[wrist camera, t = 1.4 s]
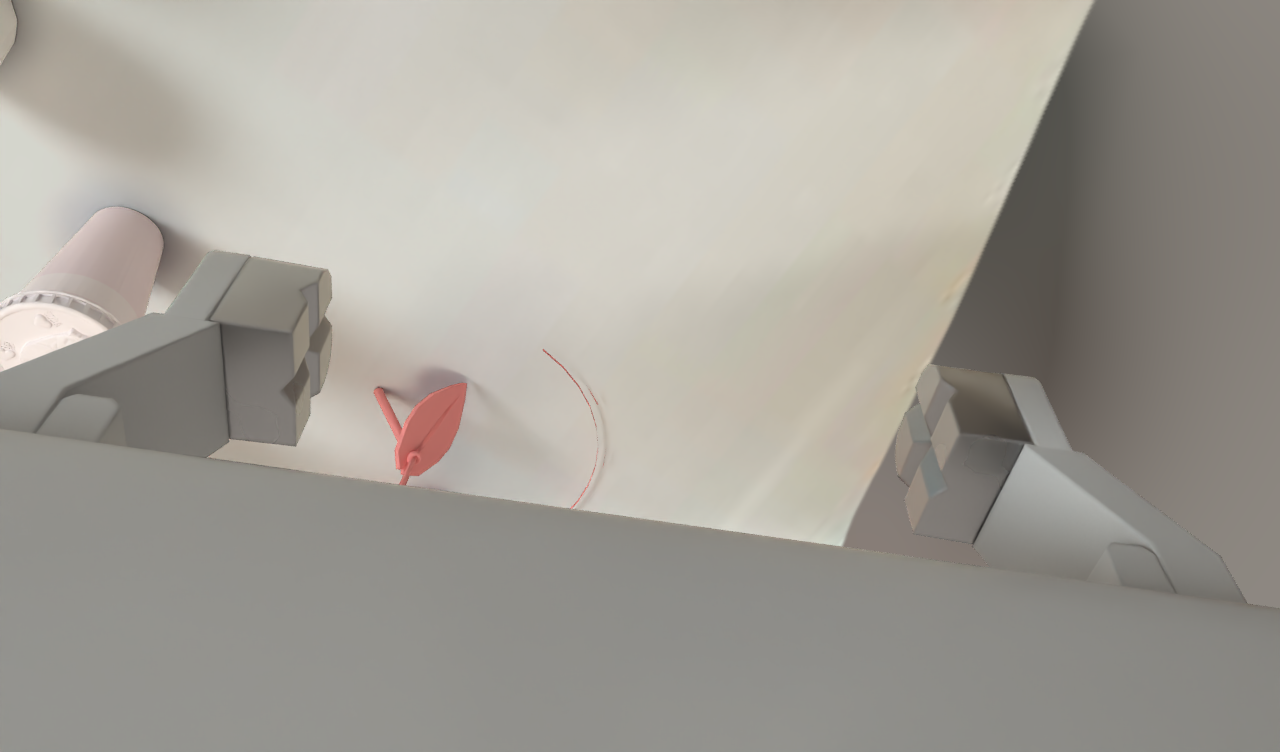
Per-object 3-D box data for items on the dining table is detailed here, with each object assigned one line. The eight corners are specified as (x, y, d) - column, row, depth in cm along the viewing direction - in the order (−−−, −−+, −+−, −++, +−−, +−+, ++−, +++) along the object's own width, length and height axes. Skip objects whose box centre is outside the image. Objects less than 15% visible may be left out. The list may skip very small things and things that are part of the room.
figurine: (354, 568, 75) (230, 1182, 49) (365, 278, 58) (185, 979, 32) (570, 588, 77) (561, 1182, 51) (641, 315, 60) (683, 994, 34)
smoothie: (38, 236, 55) (-90, 426, 45) (98, 160, 52) (-23, 343, 42) (151, 304, 58) (57, 496, 48) (214, 235, 55) (129, 423, 45)
